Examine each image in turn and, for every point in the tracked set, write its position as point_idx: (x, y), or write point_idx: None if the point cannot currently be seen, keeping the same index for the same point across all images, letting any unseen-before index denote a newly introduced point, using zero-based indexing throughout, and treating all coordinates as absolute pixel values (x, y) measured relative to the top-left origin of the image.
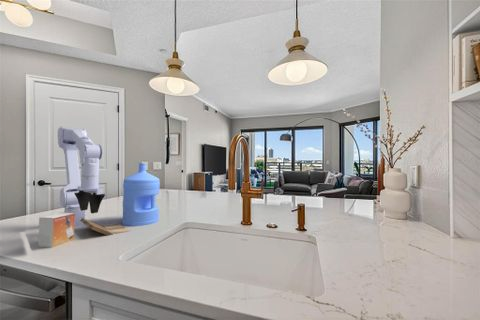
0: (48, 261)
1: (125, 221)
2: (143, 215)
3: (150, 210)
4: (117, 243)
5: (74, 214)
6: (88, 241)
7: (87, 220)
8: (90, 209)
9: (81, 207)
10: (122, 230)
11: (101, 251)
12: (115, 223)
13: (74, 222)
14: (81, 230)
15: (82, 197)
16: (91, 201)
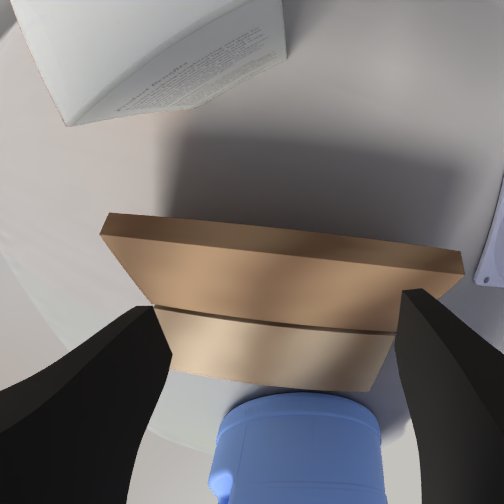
0: None
1: (294, 414)
2: (214, 461)
3: (210, 488)
4: (69, 262)
5: (70, 121)
6: (172, 179)
7: (408, 287)
8: (119, 327)
9: (416, 318)
10: (196, 353)
11: (20, 185)
12: (367, 385)
13: (128, 114)
14: (451, 236)
15: (467, 470)
16: (6, 390)
